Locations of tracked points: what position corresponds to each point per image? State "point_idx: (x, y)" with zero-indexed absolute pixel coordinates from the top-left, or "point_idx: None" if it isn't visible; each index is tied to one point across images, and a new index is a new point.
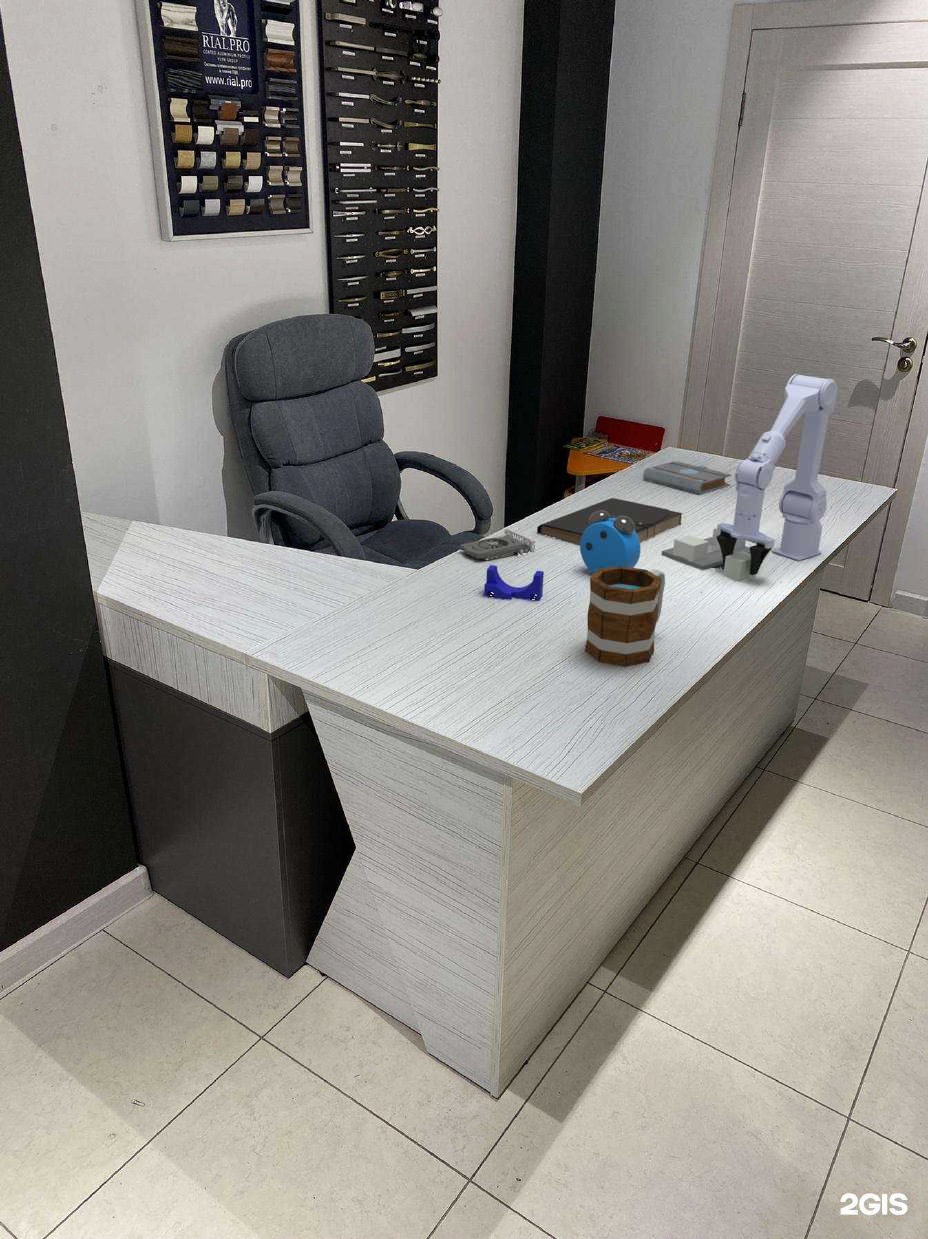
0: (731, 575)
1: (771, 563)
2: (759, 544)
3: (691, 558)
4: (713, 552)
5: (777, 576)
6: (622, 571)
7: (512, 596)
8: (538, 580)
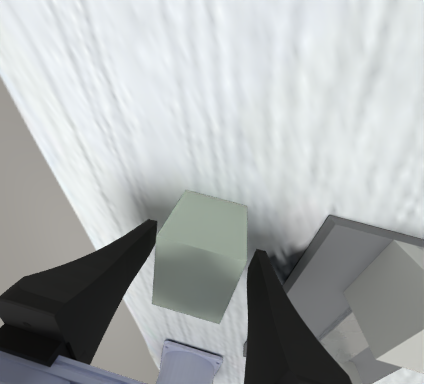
0: (214, 203)
1: (195, 319)
2: (24, 351)
3: (407, 251)
4: (333, 324)
5: (144, 269)
6: None
7: None
8: None
